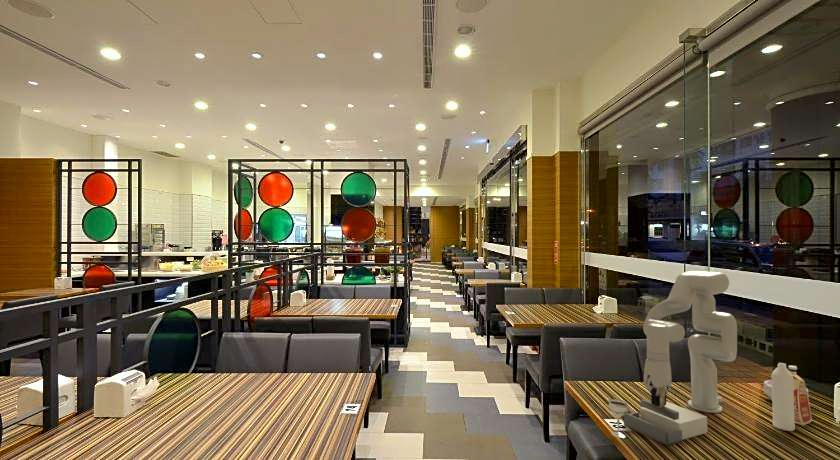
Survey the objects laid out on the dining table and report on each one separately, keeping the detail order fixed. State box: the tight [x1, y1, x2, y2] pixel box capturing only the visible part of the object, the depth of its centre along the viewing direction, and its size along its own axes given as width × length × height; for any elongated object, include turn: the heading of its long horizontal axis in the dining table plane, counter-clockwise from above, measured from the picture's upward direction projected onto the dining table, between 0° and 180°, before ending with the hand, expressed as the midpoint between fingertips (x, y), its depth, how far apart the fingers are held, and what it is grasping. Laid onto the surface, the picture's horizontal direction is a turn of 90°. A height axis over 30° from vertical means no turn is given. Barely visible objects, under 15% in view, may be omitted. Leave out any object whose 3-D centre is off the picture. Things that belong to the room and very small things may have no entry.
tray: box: [623, 411, 683, 447], centre depth 156 cm, size 8×18×5 cm, turn 23°
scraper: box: [639, 386, 679, 420], centre depth 158 cm, size 3×14×10 cm, turn 23°
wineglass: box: [608, 398, 629, 439], centre depth 155 cm, size 7×7×12 cm
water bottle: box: [771, 362, 798, 432], centre depth 161 cm, size 9×6×25 cm
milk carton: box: [789, 370, 813, 426], centre depth 170 cm, size 9×9×20 cm
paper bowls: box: [763, 379, 810, 401], centre depth 187 cm, size 15×15×8 cm
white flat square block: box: [639, 401, 708, 441], centre depth 161 cm, size 16×16×6 cm
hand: (658, 404), depth 158 cm, fingers closed on scraper, 2 cm apart
